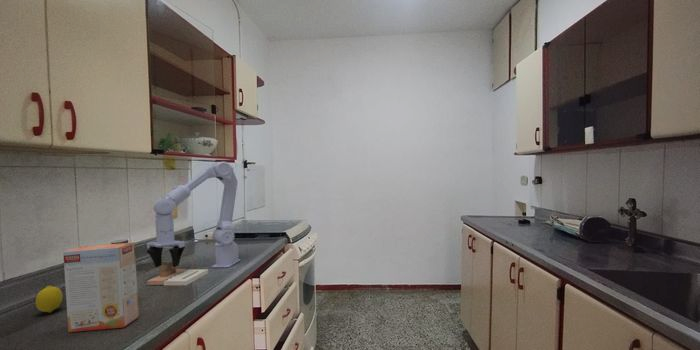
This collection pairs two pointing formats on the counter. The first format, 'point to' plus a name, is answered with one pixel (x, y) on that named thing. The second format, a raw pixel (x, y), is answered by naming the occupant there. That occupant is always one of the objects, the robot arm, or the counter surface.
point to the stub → (165, 274)
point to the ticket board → (186, 277)
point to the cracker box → (101, 286)
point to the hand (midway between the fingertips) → (167, 266)
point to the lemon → (49, 299)
